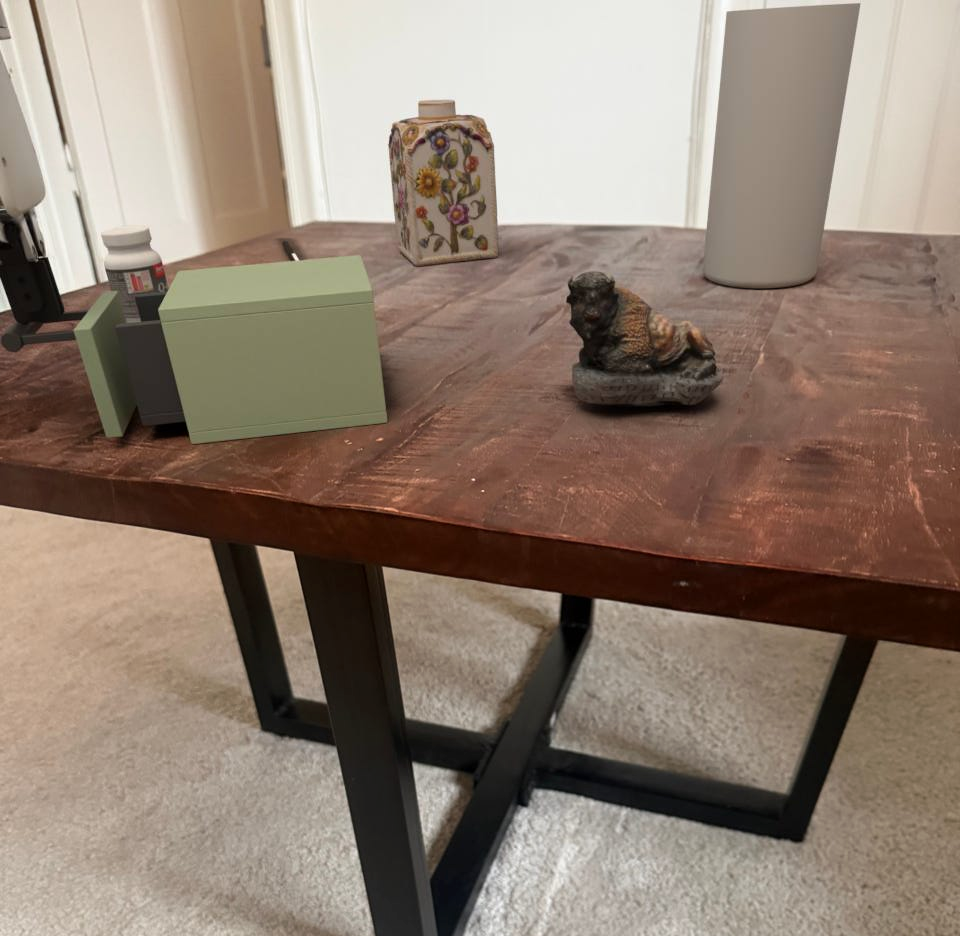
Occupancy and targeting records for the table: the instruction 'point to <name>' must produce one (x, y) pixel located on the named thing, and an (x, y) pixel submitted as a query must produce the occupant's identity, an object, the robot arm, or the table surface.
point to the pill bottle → (132, 266)
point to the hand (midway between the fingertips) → (41, 318)
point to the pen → (290, 251)
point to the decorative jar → (443, 186)
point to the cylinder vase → (776, 142)
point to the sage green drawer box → (274, 348)
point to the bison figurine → (635, 349)
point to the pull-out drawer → (117, 359)
